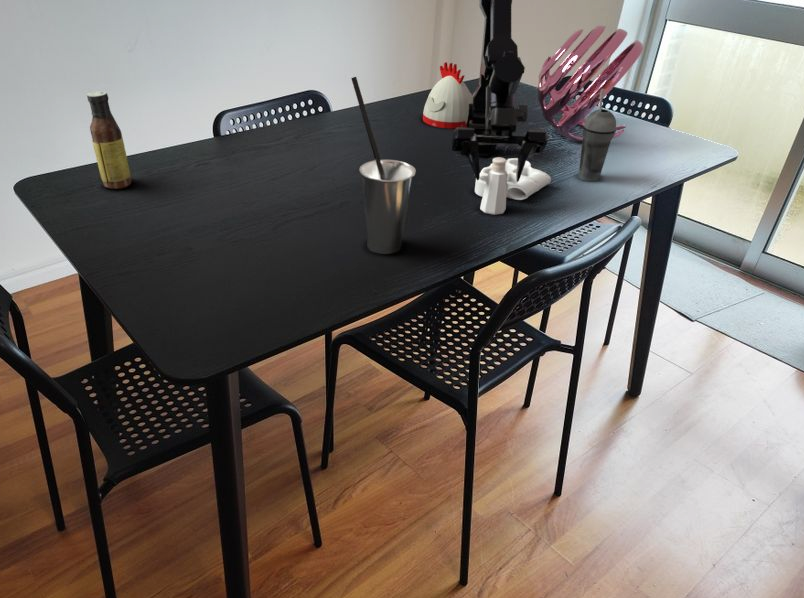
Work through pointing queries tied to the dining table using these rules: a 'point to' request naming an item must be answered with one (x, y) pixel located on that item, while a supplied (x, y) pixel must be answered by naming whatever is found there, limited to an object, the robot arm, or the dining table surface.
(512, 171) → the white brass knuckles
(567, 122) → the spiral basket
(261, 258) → the dining table surface
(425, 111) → the kitchen timer
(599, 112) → the beverage cup
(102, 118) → the sauce bottle
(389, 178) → the steel tumbler with stirrer
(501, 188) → the salt shaker
